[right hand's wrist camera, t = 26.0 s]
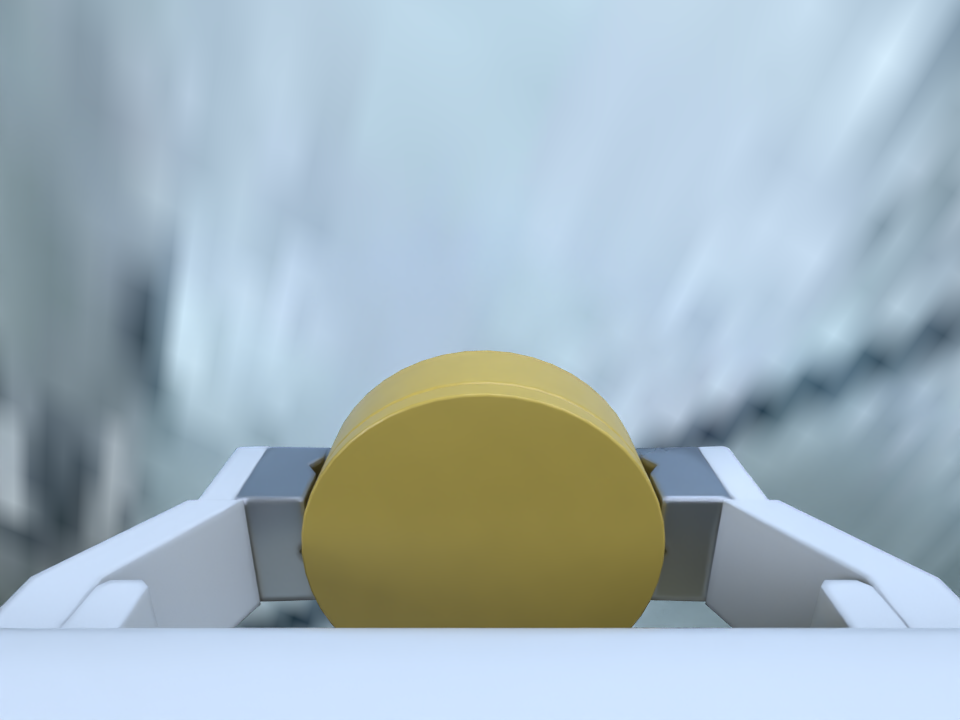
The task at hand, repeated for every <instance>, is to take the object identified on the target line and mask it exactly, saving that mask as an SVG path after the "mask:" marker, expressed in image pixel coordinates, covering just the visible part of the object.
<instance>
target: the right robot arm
mask: <svg viewBox="0 0 960 720" xmlns="http://www.w3.org/2000/svg"><path fill="white" fill-rule="evenodd" d="M330 450H331V448H314V447H269V446H253V447H239V448H236V450H235V451H234V452H233V453H232V455H231V456H230V457H229V459H228V460H227V461H226V463H225V464H224V465H223V467H222V468H221V469H220V471H219V472H218V474H217V475H216V476H215V478H214V479H213V480H212V482H211V483H210V484H209V486H208V487H207V488H206V490H205V491H204V492H203V494H202V495H201V496H200V498H199V499H198V500H187V501H185V502H183V503H181V504H179V505H177V506H175V507H173V508H171V509H169V510H166V511H164V512H162V513H160V514H158V515H156V516H154V517H152V518H150V519H148V520H146V521H144V522H142V523H140V524H138V525H136V526H134V527H132V528H130V529H128V530H126V531H124V532H122V533H119V534H117V535H115V536H113V537H111V538H109V539H107V540H105V541H103V542H101V543H99V544H97V545H95V546H93V547H91V548H89V549H87V550H85V551H83V552H81V553H79V554H77V555H75V556H73V557H70V558H68V559H66V560H64V561H62V562H60V563H58V564H56V565H54V566H52V567H50V568H48V569H46V570H44V571H42V572H40V573H38V574H36V575H34V576H32V577H30V578H29V579H28V580H27V581H26V582H25V583H24V584H23V585H22V586H21V587H20V588H19V589H18V590H17V591H16V592H15V593H14V594H13V595H12V596H11V597H10V598H9V599H8V600H7V601H6V602H5V603H4V604H3V605H2V606H1V607H0V720H960V599H959V598H958V596H957V595H956V594H955V593H954V592H953V591H952V590H951V589H950V588H949V587H948V586H947V585H946V584H945V583H944V582H943V581H942V580H941V579H940V578H938V577H936V576H934V575H932V574H930V573H928V572H926V571H923V570H921V569H919V568H917V567H915V566H913V565H911V564H909V563H907V562H905V561H903V560H901V559H899V558H897V557H895V556H893V555H891V554H889V553H886V552H884V551H882V550H880V549H878V548H876V547H874V546H872V545H870V544H868V543H866V542H864V541H862V540H860V539H858V538H856V537H854V536H852V535H849V534H847V533H845V532H843V531H841V530H839V529H837V528H835V527H833V526H831V525H829V524H827V523H825V522H823V521H821V520H819V519H817V518H815V517H812V516H810V515H808V514H806V513H804V512H802V511H800V510H798V509H796V508H794V507H792V506H790V505H788V504H786V503H784V502H782V501H780V500H768V498H767V497H766V496H765V494H764V493H763V492H762V491H761V489H760V488H759V487H758V485H757V484H756V483H755V481H754V480H753V479H752V478H751V476H750V475H749V474H748V472H747V471H746V470H745V469H744V467H743V466H742V465H741V463H740V462H739V461H738V459H737V458H736V457H735V456H734V454H733V453H732V452H731V450H730V449H729V448H727V447H725V446H711V447H665V448H636V449H635V450H636V452H637V454H638V456H639V458H640V460H641V463H642V465H643V467H644V469H645V472H646V473H647V476H648V478H649V480H650V482H651V484H652V487H653V489H654V491H655V494H656V496H657V499H658V501H659V504H660V508H661V512H662V517H663V521H664V531H665V551H664V562H663V566H662V570H661V574H660V578H659V582H658V584H657V586H656V589H655V591H654V593H653V596H652V598H651V600H670V601H706V603H705V604H706V605H707V606H708V607H709V608H711V609H712V610H713V611H714V612H715V613H716V614H717V615H719V616H720V617H721V618H722V619H723V620H724V621H725V622H726V623H728V624H729V625H730V626H731V627H732V628H234V627H236V626H237V625H238V624H239V623H240V622H241V621H242V620H243V619H245V618H246V617H247V616H248V615H249V614H250V613H251V612H252V611H254V610H255V609H256V608H257V607H258V606H259V605H260V601H295V600H316V599H315V597H314V595H313V593H312V591H311V588H310V585H309V582H308V580H307V577H306V574H305V569H304V563H303V558H302V547H301V531H302V525H303V518H304V512H305V509H306V506H307V503H308V500H309V496H310V494H311V491H312V489H313V487H314V485H315V483H316V481H317V478H318V476H319V474H320V472H321V469H322V467H323V465H324V463H325V461H326V458H327V456H328V454H329V452H330Z"/></svg>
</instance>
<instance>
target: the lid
mask: <svg viewBox="0 0 960 720" xmlns="http://www.w3.org/2000/svg"><path fill="white" fill-rule="evenodd" d="M301 547H302V558H303V563H304V569H305V574H306V577H307V580H308V582H309V585H310V588H311V591H312V593H313V595H314V597H315V599H316V601H317V603H318V605H319V607H320V608H321V610H322V611H323V613H324V614H325V616H326V617H327V618H328V620H329V621H330V623H331V624H332V625H333V626H334V627H335V628H632V626H633V625H634V624H635V623H636V622H637V620H638V619H639V618H640V617H641V615H642V613H643V612H644V610H645V608H646V607H647V605H648V604H649V602H650V600H651V598H652V596H653V593H654V591H655V589H656V586H657V584H658V582H659V578H660V574H661V570H662V566H663V562H664V551H665V531H664V521H663V517H662V512H661V508H660V504H659V501H658V499H657V496H656V494H655V491H654V489H653V487H652V484H651V482H650V480H649V478H648V476H647V473H646V472H645V469H644V467H643V465H642V463H641V460H640V458H639V456H638V454H637V452H636V450H635V448H634V445H633V443H632V441H631V439H630V437H629V435H628V432H627V430H626V429H625V427H624V425H623V424H622V422H621V420H620V419H619V417H618V416H617V414H616V413H615V412H614V410H613V409H612V408H611V407H610V406H609V404H608V403H607V402H606V401H605V400H604V399H603V398H602V397H601V396H600V395H599V394H598V393H597V392H596V391H594V390H593V389H592V388H591V387H590V386H589V385H587V384H586V383H584V382H583V381H581V380H580V379H578V378H577V377H576V376H574V375H573V374H571V373H569V372H567V371H565V370H563V369H561V368H559V367H557V366H555V365H553V364H550V363H547V362H544V361H542V360H539V359H536V358H533V357H529V356H524V355H520V354H515V353H510V352H499V351H464V352H458V353H452V354H445V355H441V356H437V357H434V358H430V359H427V360H424V361H421V362H418V363H416V364H414V365H411V366H409V367H407V368H405V369H402V370H401V371H399V372H397V373H396V374H394V375H392V376H391V377H389V378H387V379H385V380H384V381H383V382H381V383H380V384H379V385H378V386H376V387H375V388H374V389H373V390H371V391H370V392H369V393H368V394H367V395H366V396H365V397H364V398H363V399H362V400H361V401H360V402H359V403H358V404H357V405H356V406H355V407H354V409H353V410H352V412H351V413H350V414H349V416H348V417H347V419H346V420H345V422H344V423H343V425H342V427H341V429H340V431H339V433H338V435H337V437H336V439H335V441H334V443H333V445H332V447H331V450H330V452H329V454H328V456H327V458H326V461H325V463H324V465H323V467H322V469H321V472H320V474H319V476H318V478H317V481H316V483H315V485H314V487H313V489H312V491H311V494H310V496H309V500H308V503H307V506H306V509H305V512H304V518H303V525H302V531H301Z"/></svg>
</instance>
